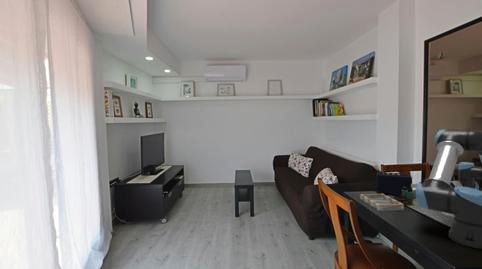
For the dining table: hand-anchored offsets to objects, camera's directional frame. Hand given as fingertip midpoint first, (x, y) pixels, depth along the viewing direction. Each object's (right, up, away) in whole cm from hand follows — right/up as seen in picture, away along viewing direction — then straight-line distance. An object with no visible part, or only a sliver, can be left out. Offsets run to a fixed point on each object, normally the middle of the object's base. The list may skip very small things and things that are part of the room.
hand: (418, 188), depth 162 cm
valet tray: (-25, -10, 0) cm, 27 cm away
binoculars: (-10, -10, 0) cm, 14 cm away
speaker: (-3, -9, +22) cm, 24 cm away
